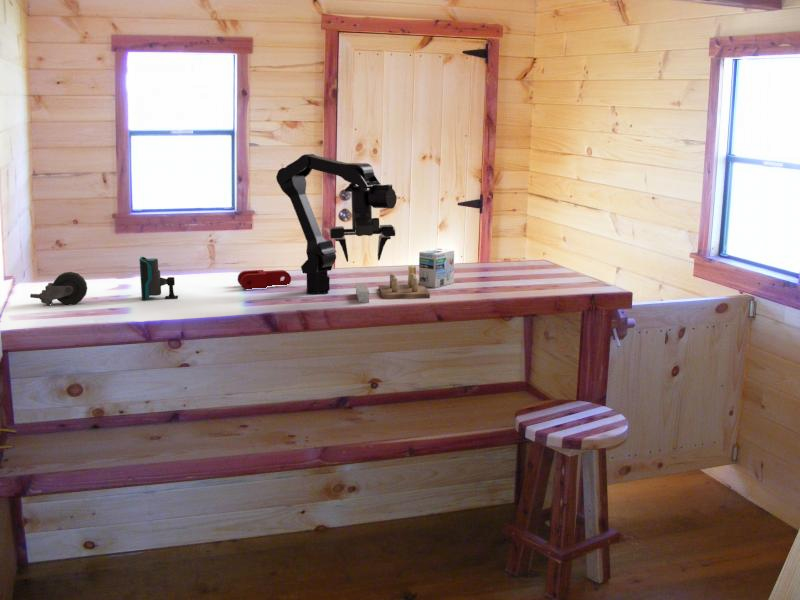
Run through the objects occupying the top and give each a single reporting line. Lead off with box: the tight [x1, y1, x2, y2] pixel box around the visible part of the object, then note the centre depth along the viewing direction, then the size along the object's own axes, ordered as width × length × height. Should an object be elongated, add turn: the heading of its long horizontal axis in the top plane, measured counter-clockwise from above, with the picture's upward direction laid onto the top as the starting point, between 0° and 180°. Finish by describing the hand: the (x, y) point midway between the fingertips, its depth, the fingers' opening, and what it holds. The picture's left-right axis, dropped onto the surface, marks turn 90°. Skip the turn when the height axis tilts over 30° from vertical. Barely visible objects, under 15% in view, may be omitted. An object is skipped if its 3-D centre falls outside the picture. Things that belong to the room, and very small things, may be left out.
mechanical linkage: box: [237, 269, 292, 290], centre depth 283 cm, size 16×7×5 cm, turn 109°
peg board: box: [378, 273, 431, 299], centre depth 275 cm, size 14×14×5 cm
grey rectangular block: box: [355, 283, 370, 304], centre depth 268 cm, size 12×3×4 cm, turn 7°
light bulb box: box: [418, 247, 455, 289], centre depth 288 cm, size 11×7×11 cm, turn 143°
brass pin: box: [407, 265, 417, 285], centre depth 287 cm, size 2×2×6 cm
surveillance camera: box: [139, 256, 179, 301], centre depth 265 cm, size 6×12×10 cm
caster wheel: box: [30, 271, 88, 307], centre depth 256 cm, size 6×10×15 cm
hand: (363, 260), depth 266 cm, fingers open, 9 cm apart
